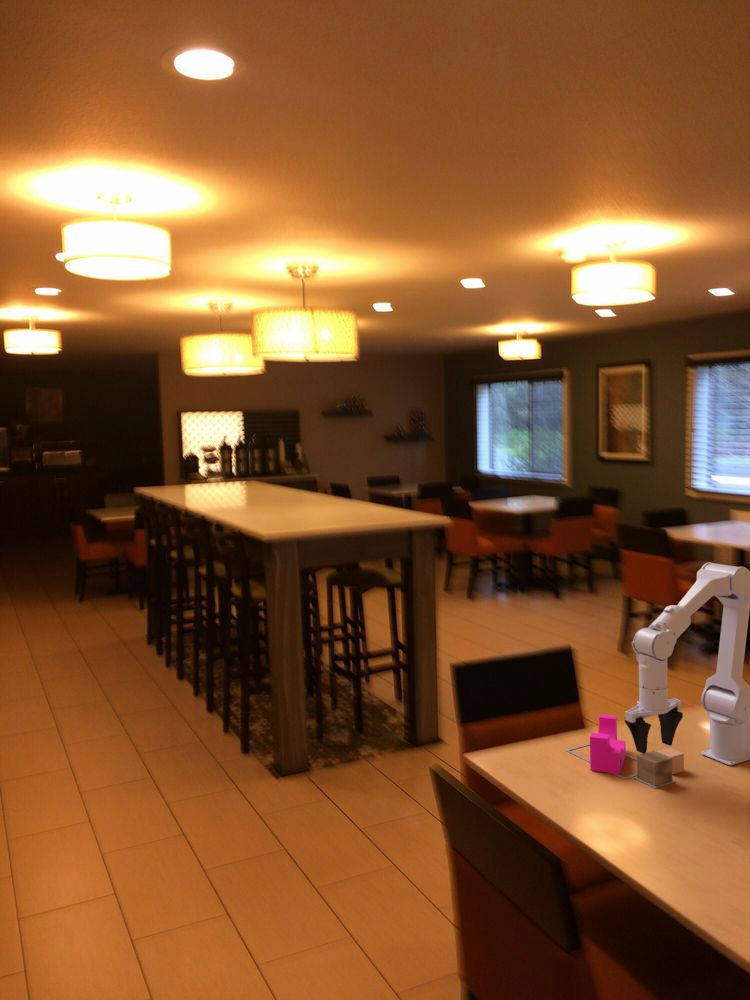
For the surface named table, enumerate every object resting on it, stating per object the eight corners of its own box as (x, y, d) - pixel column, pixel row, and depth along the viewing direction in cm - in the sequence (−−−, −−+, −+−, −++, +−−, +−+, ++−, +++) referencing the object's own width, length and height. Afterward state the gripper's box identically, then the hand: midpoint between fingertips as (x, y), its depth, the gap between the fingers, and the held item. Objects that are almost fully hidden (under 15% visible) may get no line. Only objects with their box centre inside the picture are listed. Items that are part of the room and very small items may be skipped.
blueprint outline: (597, 741, 190) (597, 741, 190) (682, 779, 168) (682, 778, 168) (565, 750, 185) (565, 749, 185) (648, 790, 163) (648, 790, 163)
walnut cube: (654, 772, 171) (653, 750, 171) (672, 781, 167) (672, 758, 166) (637, 777, 169) (636, 755, 169) (655, 786, 164) (654, 763, 164)
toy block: (619, 773, 171) (619, 740, 171) (590, 769, 174) (589, 736, 173) (628, 748, 185) (627, 717, 184) (600, 745, 188) (600, 714, 187)
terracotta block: (669, 764, 176) (669, 747, 175) (683, 771, 172) (683, 753, 172) (656, 768, 174) (656, 751, 174) (670, 775, 170) (670, 757, 170)
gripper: (662, 674, 173) (663, 734, 174) (614, 686, 167) (615, 749, 168) (689, 683, 167) (689, 745, 168) (639, 695, 160) (640, 760, 161)
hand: (654, 747), depth 168 cm, fingers open, 7 cm apart
